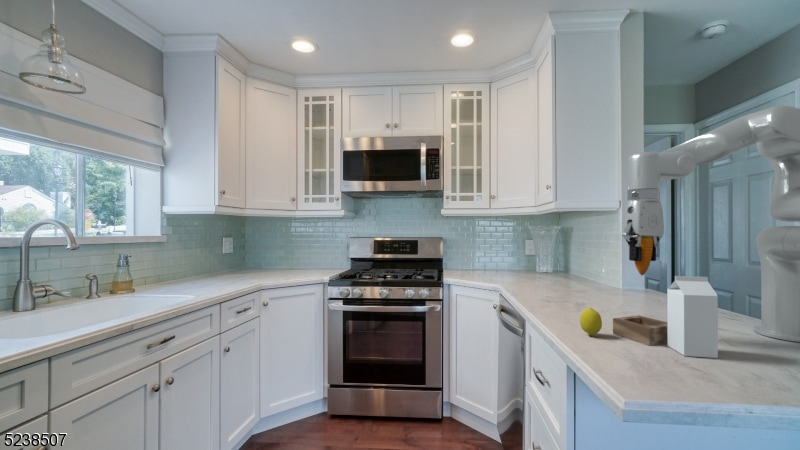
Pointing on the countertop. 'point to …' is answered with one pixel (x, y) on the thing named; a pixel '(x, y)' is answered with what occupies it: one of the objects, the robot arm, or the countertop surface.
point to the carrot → (645, 254)
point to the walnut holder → (641, 329)
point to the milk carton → (692, 317)
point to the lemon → (590, 321)
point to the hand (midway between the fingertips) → (642, 260)
